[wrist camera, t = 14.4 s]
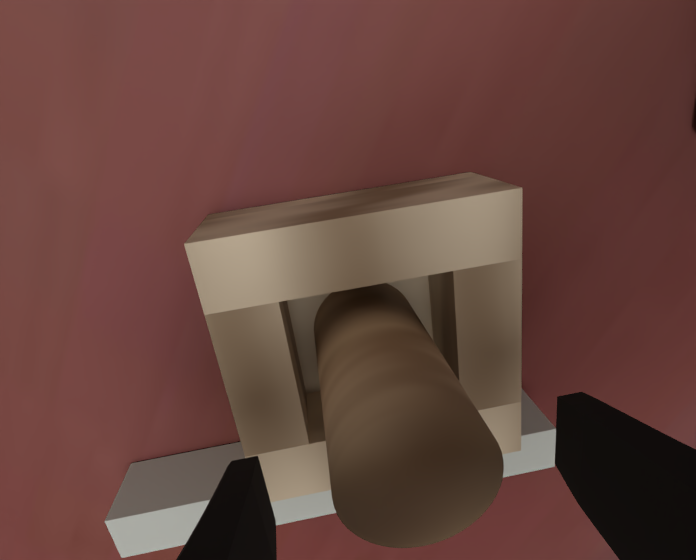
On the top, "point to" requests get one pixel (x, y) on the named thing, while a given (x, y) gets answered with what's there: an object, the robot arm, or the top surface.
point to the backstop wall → (207, 470)
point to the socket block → (354, 272)
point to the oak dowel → (398, 424)
